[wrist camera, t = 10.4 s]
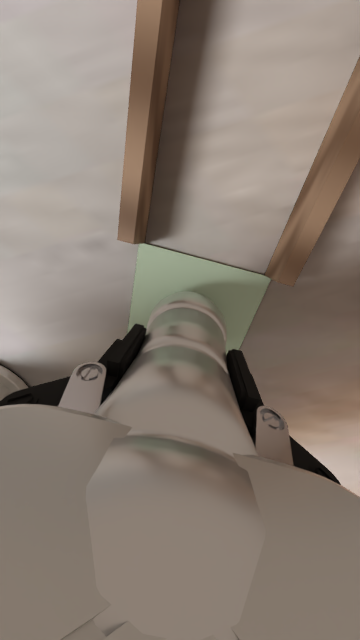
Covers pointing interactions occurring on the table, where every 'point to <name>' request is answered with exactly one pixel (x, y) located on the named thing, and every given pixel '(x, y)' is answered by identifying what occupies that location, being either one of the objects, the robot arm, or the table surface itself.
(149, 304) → the mat
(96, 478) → the plastic bottle
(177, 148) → the table surface
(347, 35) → the table surface
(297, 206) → the bottle rack
